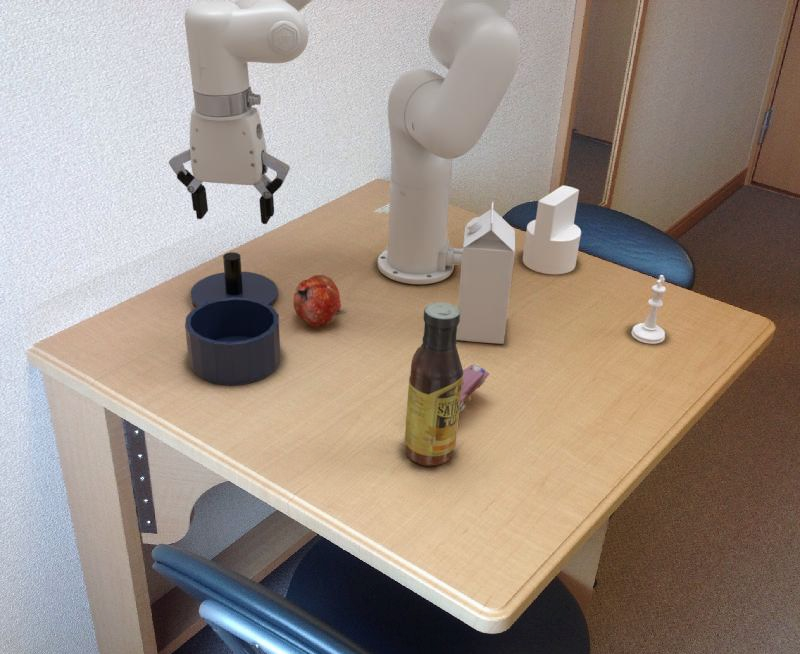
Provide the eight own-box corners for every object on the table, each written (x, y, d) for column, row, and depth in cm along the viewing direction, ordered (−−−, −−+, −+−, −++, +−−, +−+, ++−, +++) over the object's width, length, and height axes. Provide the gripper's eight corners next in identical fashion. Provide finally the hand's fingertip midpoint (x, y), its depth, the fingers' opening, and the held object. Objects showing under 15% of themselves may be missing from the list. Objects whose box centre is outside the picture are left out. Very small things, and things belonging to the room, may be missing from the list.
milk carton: (503, 320, 140) (518, 203, 128) (503, 345, 134) (518, 224, 123) (457, 316, 140) (467, 199, 129) (454, 341, 134) (465, 220, 123)
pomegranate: (316, 316, 143) (269, 295, 135) (343, 279, 141) (298, 256, 133) (338, 344, 138) (291, 323, 130) (367, 305, 136) (321, 282, 129)
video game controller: (439, 436, 118) (464, 405, 113) (412, 413, 118) (437, 381, 114) (475, 400, 125) (501, 369, 120) (450, 377, 125) (474, 346, 120)
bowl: (279, 335, 134) (278, 295, 130) (281, 384, 123) (279, 343, 120) (192, 337, 132) (188, 297, 128) (186, 387, 122) (182, 345, 118)
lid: (277, 276, 148) (275, 236, 144) (278, 318, 137) (276, 276, 133) (193, 278, 146) (189, 237, 142) (188, 320, 136) (183, 277, 132)
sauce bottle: (440, 475, 109) (452, 332, 98) (394, 457, 112) (401, 316, 100) (464, 446, 114) (479, 307, 103) (420, 429, 117) (429, 291, 105)
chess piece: (670, 335, 138) (685, 276, 132) (654, 347, 135) (668, 287, 129) (642, 323, 141) (655, 264, 135) (625, 334, 138) (637, 275, 132)
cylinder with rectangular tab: (538, 245, 161) (547, 180, 154) (584, 260, 157) (596, 194, 150) (512, 263, 155) (521, 196, 148) (560, 279, 151) (571, 211, 144)
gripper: (291, 95, 126) (298, 211, 137) (170, 88, 128) (185, 202, 138) (278, 114, 120) (285, 233, 131) (151, 106, 122) (168, 224, 132)
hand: (234, 217), depth 135 cm, fingers open, 9 cm apart
